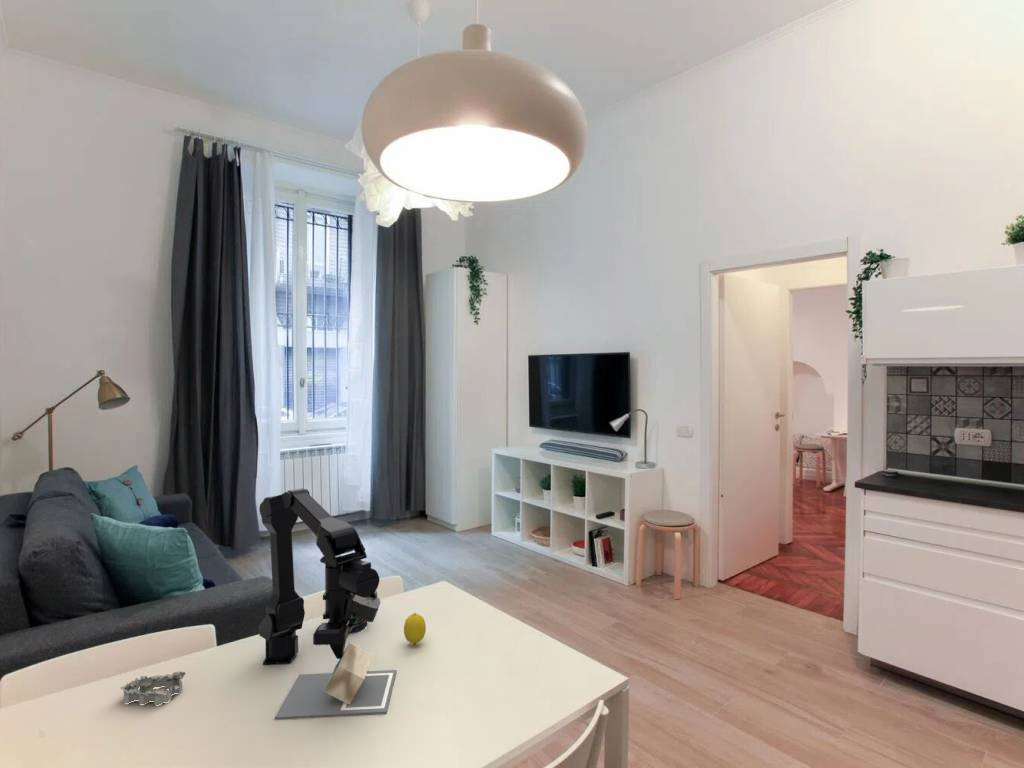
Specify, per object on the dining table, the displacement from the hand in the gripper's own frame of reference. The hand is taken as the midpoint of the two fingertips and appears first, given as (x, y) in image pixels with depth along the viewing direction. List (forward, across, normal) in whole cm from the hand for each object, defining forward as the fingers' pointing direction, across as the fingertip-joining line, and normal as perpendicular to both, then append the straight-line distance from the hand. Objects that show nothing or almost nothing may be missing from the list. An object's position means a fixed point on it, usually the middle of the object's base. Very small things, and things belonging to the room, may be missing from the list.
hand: (339, 657), depth 118 cm
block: (+2, 0, +1) cm, 2 cm away
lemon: (+8, +21, -14) cm, 27 cm away
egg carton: (+8, +2, +40) cm, 41 cm away
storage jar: (+8, +33, +5) cm, 34 cm away
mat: (+8, 0, 0) cm, 8 cm away
